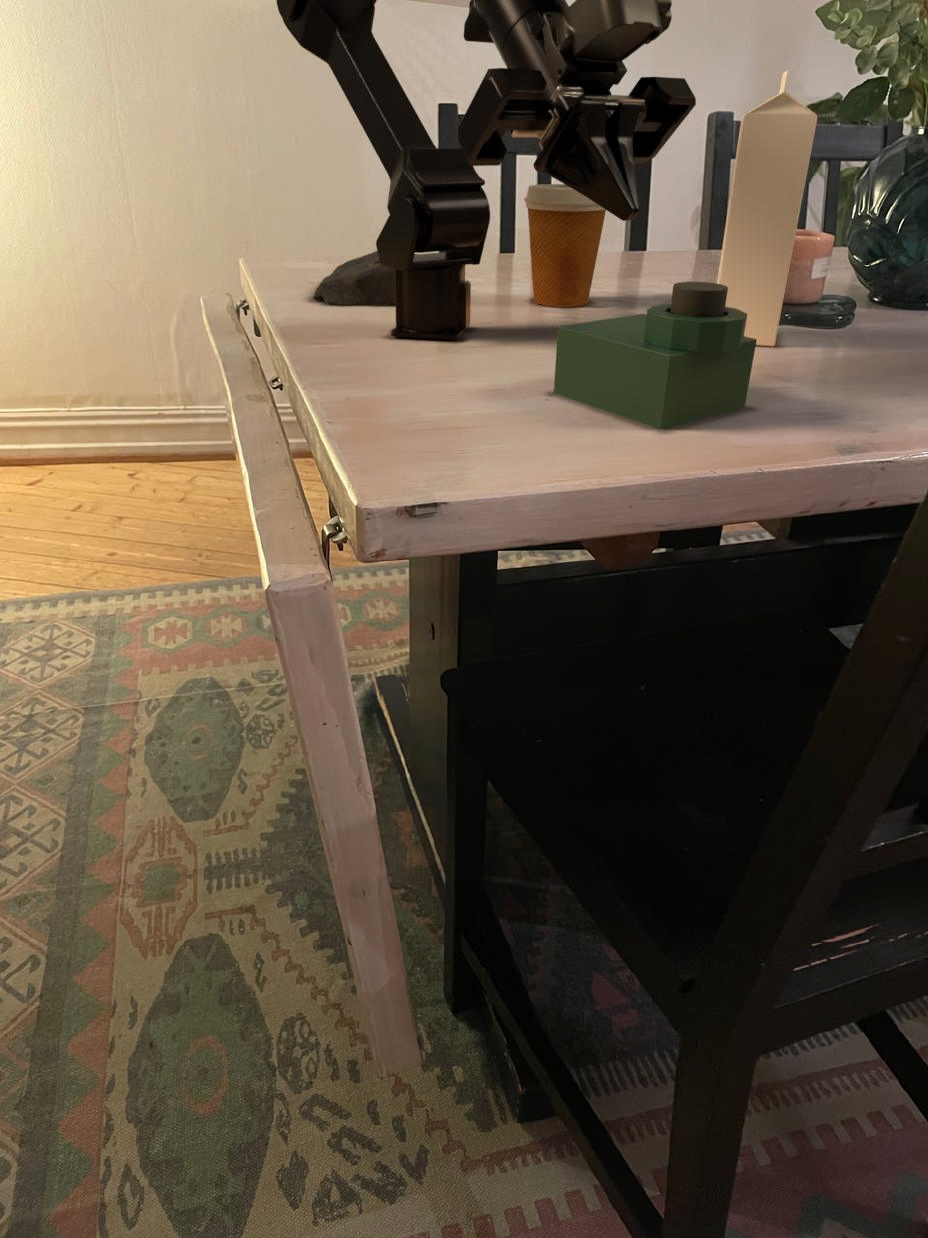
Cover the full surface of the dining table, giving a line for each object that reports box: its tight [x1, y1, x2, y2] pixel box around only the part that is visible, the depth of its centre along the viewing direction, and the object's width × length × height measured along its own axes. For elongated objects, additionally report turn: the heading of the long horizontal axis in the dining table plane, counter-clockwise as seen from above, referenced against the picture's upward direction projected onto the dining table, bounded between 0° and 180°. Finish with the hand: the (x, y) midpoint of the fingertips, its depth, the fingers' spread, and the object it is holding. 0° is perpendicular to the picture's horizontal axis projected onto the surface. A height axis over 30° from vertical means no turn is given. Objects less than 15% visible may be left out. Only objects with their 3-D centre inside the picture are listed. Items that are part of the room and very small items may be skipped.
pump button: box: [670, 281, 728, 318], centre depth 58 cm, size 4×4×2 cm
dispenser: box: [553, 302, 757, 431], centre depth 62 cm, size 12×9×7 cm
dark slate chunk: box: [312, 250, 419, 306], centre depth 105 cm, size 15×22×5 cm
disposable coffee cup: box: [523, 183, 607, 308], centre depth 97 cm, size 10×10×12 cm
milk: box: [716, 69, 818, 347], centre depth 79 cm, size 6×6×22 cm
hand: (631, 216), depth 61 cm, fingers closed
